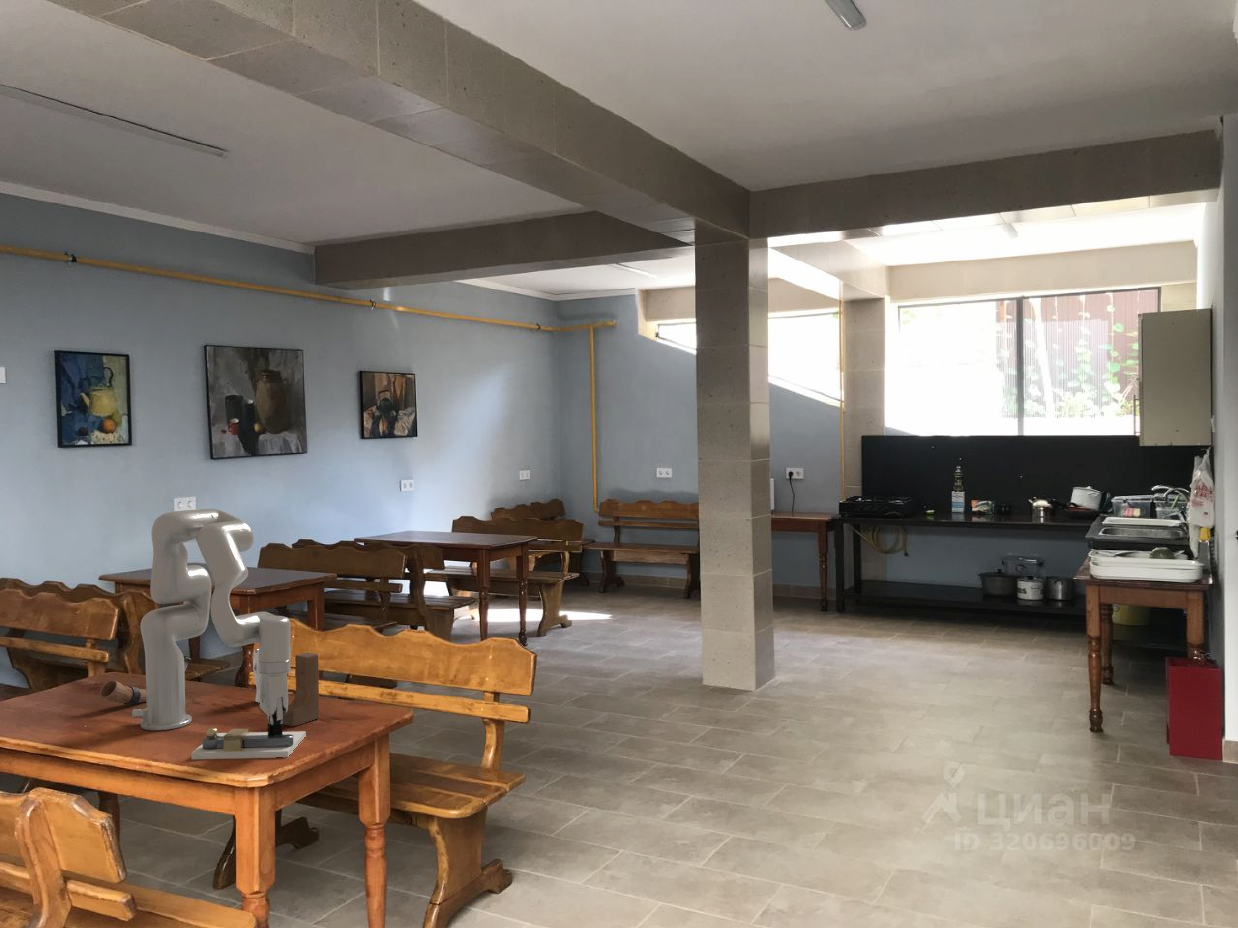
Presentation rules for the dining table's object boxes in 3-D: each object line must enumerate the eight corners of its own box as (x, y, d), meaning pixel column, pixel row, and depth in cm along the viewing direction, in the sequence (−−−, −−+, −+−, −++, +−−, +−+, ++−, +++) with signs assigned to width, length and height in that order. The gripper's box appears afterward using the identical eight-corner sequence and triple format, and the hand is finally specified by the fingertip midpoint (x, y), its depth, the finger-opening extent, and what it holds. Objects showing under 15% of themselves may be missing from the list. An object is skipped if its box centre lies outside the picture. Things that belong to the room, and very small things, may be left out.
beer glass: (264, 705, 287) (263, 653, 286) (248, 701, 290) (247, 651, 290) (283, 699, 293) (283, 649, 292) (268, 696, 296) (267, 646, 296)
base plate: (191, 759, 239) (191, 753, 239) (215, 738, 255) (215, 732, 255) (288, 757, 241) (287, 751, 240) (305, 736, 256) (305, 731, 256)
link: (199, 749, 241) (199, 741, 241) (206, 743, 246) (205, 735, 246) (290, 746, 243) (290, 738, 243) (295, 741, 247) (295, 733, 247)
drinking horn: (96, 712, 281) (96, 677, 280) (184, 687, 308) (183, 655, 307) (110, 714, 278) (109, 679, 278) (197, 689, 305) (196, 657, 305)
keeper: (201, 752, 240) (201, 733, 240) (210, 744, 246) (210, 726, 246) (240, 751, 240) (240, 732, 240) (248, 743, 246) (248, 725, 246)
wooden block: (292, 727, 265) (291, 660, 265) (281, 724, 268) (280, 658, 267) (319, 718, 273) (318, 653, 272) (309, 716, 275) (308, 652, 275)
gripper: (252, 661, 251) (252, 733, 252) (266, 674, 239) (266, 749, 240) (282, 658, 256) (282, 728, 256) (298, 670, 243) (298, 744, 244)
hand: (275, 738), depth 248 cm, fingers closed
